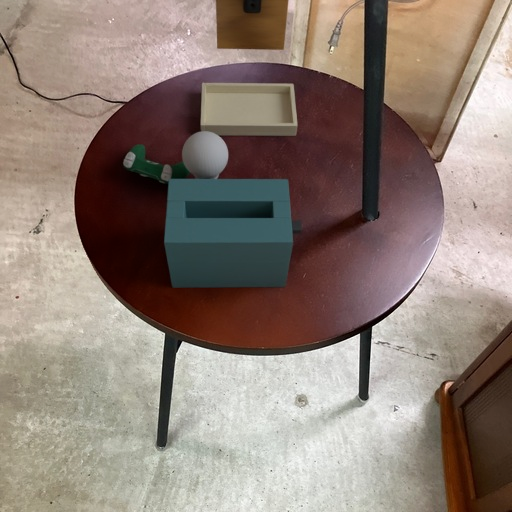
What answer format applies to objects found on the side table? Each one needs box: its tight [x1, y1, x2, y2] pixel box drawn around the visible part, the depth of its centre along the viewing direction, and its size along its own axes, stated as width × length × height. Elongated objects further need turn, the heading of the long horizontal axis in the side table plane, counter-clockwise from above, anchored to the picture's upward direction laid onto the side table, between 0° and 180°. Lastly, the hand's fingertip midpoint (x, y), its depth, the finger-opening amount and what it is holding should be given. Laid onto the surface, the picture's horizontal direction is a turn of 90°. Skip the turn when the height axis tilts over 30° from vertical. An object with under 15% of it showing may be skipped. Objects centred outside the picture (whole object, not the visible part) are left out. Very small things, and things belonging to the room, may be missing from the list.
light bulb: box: [181, 130, 229, 179], centre depth 72 cm, size 6×6×10 cm
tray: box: [200, 82, 298, 137], centre depth 84 cm, size 14×9×2 cm, turn 92°
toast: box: [215, 0, 289, 51], centre depth 70 cm, size 9×1×10 cm, turn 91°
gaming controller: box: [122, 143, 191, 185], centre depth 76 cm, size 9×4×6 cm
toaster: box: [163, 178, 303, 289], centre depth 66 cm, size 16×9×10 cm, turn 92°
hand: (251, 7), depth 70 cm, fingers closed on toast, 1 cm apart
